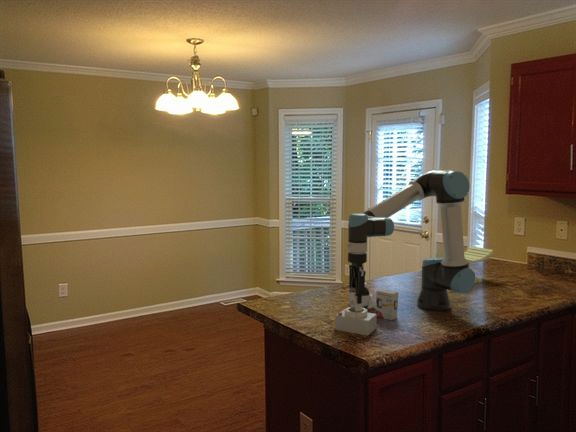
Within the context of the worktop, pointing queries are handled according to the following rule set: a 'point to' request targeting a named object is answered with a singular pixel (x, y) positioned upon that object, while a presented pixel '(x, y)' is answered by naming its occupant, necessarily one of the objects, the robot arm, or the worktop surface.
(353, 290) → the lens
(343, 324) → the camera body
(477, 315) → the worktop surface
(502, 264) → the worktop surface
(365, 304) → the spread jar
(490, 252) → the slatted curved stool
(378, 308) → the ink box
